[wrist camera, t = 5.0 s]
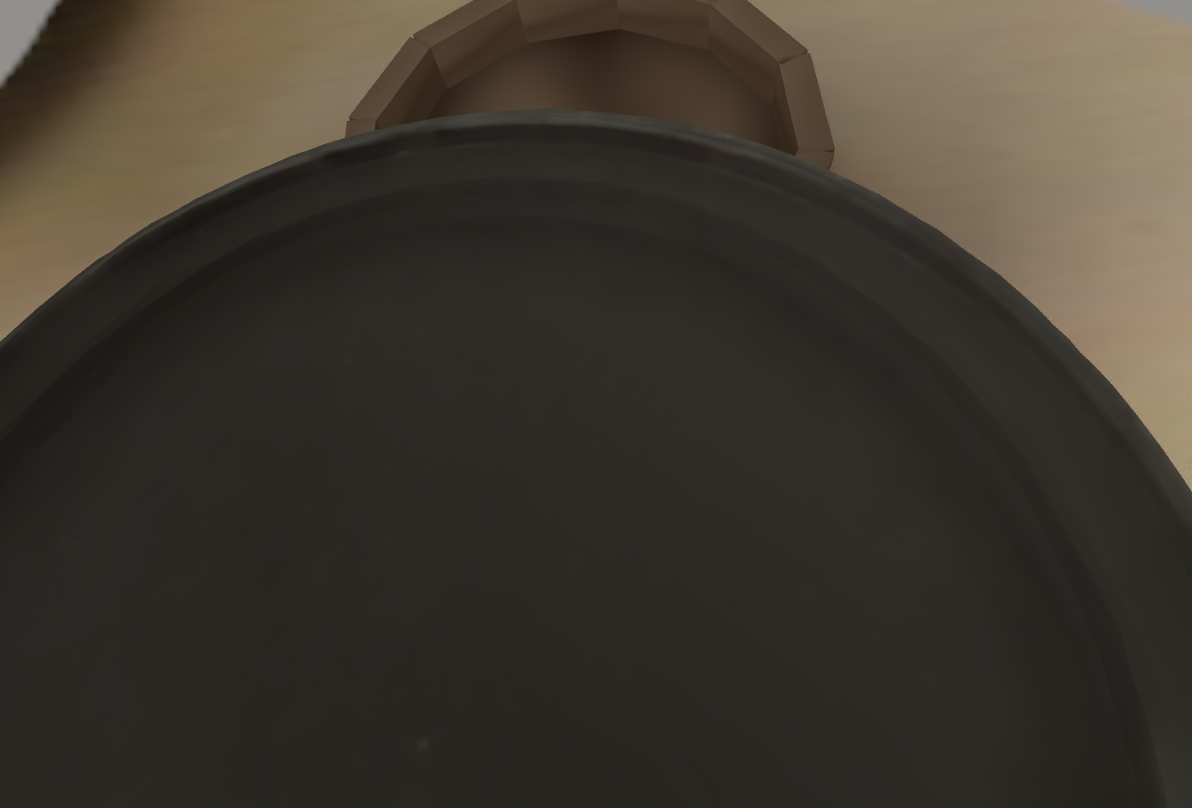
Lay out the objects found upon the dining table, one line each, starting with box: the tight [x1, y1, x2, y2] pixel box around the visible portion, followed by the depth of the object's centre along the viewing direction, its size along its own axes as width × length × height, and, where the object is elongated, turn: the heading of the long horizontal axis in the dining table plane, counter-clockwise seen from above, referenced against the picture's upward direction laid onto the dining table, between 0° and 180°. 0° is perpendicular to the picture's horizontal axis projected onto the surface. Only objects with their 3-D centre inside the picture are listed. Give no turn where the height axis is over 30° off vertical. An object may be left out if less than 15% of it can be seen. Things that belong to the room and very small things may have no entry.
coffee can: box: [0, 108, 1192, 808], centre depth 11 cm, size 10×10×14 cm
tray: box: [345, 0, 835, 170], centre depth 22 cm, size 15×15×3 cm
